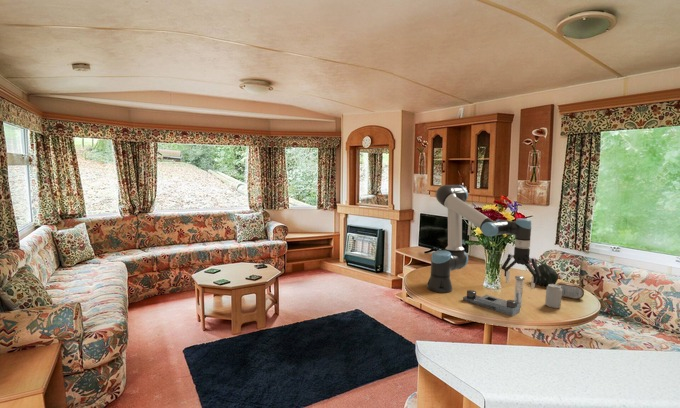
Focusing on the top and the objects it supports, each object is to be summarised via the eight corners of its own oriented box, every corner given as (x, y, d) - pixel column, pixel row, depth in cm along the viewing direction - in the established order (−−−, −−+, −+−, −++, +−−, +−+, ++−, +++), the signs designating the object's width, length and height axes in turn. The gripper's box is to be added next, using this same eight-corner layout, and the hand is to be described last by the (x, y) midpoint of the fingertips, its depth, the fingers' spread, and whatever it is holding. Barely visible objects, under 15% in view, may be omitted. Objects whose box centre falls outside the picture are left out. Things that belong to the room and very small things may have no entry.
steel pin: (511, 306, 203) (513, 276, 202) (515, 304, 206) (517, 275, 205) (519, 309, 200) (522, 278, 198) (523, 307, 203) (525, 277, 201)
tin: (583, 299, 218) (584, 285, 217) (583, 300, 215) (585, 286, 214) (554, 294, 225) (555, 280, 225) (553, 295, 223) (555, 282, 222)
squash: (560, 275, 247) (544, 257, 249) (564, 282, 233) (548, 263, 235) (541, 286, 252) (526, 269, 254) (544, 294, 238) (528, 275, 240)
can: (552, 309, 201) (554, 288, 200) (541, 304, 208) (543, 283, 207) (563, 308, 203) (565, 287, 202) (552, 303, 210) (554, 282, 209)
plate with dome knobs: (463, 300, 211) (463, 290, 210) (471, 297, 217) (471, 287, 216) (512, 316, 190) (513, 305, 189) (519, 312, 196) (520, 301, 195)
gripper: (496, 244, 206) (494, 281, 208) (544, 252, 188) (541, 292, 190) (502, 242, 211) (500, 278, 213) (549, 250, 193) (546, 289, 195)
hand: (519, 285), depth 202 cm, fingers open, 13 cm apart
